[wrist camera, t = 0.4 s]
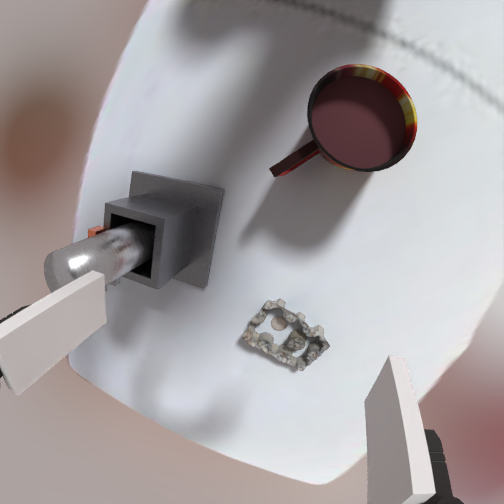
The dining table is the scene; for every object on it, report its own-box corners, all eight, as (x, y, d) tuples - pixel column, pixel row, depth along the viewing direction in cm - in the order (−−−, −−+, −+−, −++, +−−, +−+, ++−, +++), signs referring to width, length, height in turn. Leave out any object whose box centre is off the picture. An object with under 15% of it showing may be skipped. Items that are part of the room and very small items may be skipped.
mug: (280, 171, 37) (261, 173, 26) (335, 80, 32) (340, 45, 21) (346, 213, 36) (356, 234, 25) (402, 122, 32) (434, 106, 20)
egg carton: (245, 323, 44) (237, 337, 40) (276, 288, 42) (271, 300, 38) (300, 364, 44) (297, 380, 40) (334, 333, 41) (334, 348, 38)
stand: (136, 171, 41) (79, 177, 30) (224, 189, 39) (184, 200, 28) (127, 259, 46) (77, 286, 34) (206, 285, 44) (169, 325, 32)
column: (151, 206, 41) (40, 241, 22) (185, 214, 40) (81, 259, 21) (146, 245, 43) (45, 300, 24) (179, 256, 42) (84, 321, 23)
